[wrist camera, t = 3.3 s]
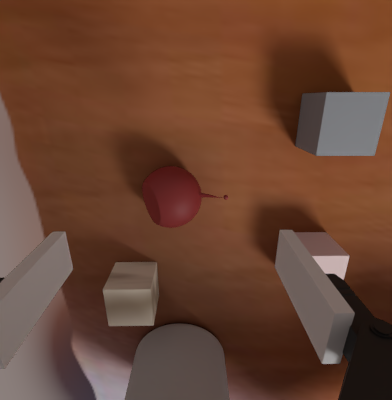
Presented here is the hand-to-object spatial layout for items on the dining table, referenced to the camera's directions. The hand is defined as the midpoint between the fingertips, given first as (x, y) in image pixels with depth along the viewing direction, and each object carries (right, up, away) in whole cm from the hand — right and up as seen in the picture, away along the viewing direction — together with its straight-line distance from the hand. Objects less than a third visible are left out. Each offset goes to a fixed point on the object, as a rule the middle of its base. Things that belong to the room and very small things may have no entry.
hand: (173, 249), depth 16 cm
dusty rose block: (+14, -3, +15) cm, 21 cm away
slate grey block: (+14, +11, +10) cm, 20 cm away
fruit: (0, +4, +12) cm, 13 cm away
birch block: (-6, -7, +17) cm, 19 cm away
